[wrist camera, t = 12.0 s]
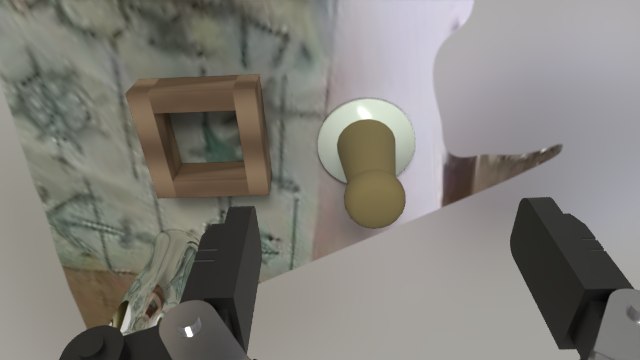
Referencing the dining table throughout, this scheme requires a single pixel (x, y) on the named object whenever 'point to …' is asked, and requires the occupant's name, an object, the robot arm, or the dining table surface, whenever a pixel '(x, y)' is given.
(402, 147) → the coaster
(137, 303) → the beer glass
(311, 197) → the dining table surface
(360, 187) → the olive pawn
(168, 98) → the frame
